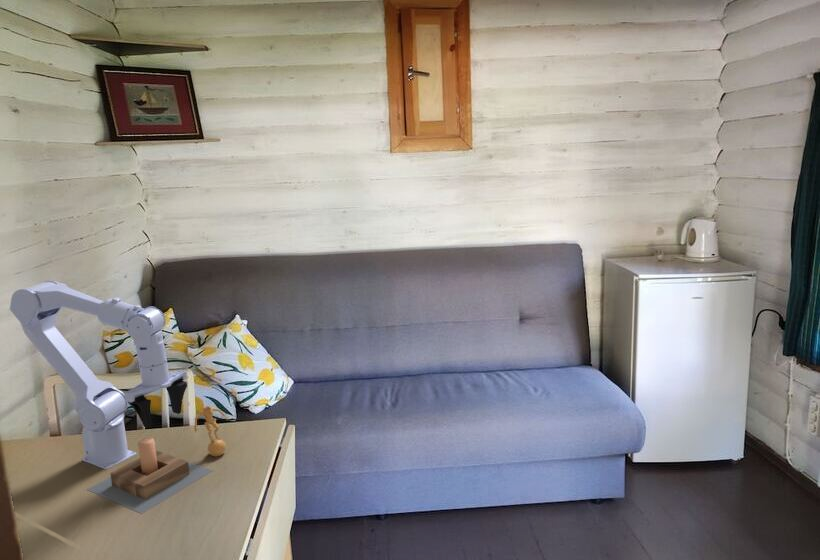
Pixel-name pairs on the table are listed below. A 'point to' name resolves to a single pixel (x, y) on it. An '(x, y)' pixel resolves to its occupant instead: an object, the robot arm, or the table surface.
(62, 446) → the table surface
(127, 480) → the square frame
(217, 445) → the figurine
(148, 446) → the dowel
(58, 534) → the table surface
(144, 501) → the mat
